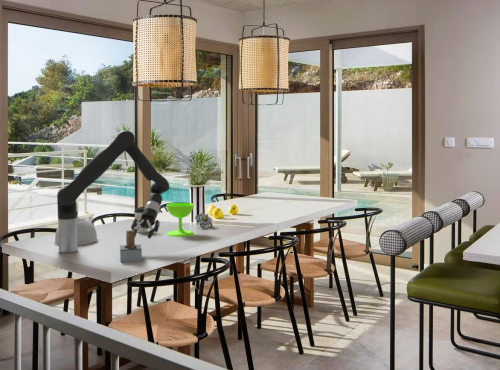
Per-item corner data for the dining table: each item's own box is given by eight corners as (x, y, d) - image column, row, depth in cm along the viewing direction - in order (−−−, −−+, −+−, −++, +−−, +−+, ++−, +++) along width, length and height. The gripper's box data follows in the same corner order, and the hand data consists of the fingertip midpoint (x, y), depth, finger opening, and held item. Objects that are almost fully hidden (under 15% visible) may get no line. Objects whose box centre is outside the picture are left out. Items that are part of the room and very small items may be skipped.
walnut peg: (126, 260, 274) (126, 231, 273) (126, 258, 278) (126, 230, 277) (135, 259, 275) (134, 231, 274) (134, 257, 279) (134, 229, 278)
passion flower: (205, 236, 359) (197, 223, 353) (196, 231, 368) (188, 217, 361) (218, 225, 363) (211, 212, 357) (209, 220, 372) (201, 207, 365)
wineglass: (161, 234, 339) (160, 204, 337) (180, 230, 351) (179, 201, 349) (180, 237, 329) (180, 207, 327) (199, 233, 342) (199, 204, 340)
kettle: (58, 237, 331) (57, 199, 329) (98, 235, 336) (97, 198, 333) (52, 246, 307) (50, 205, 304) (95, 244, 311) (94, 203, 309)
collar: (120, 262, 271) (120, 249, 270) (120, 257, 280) (120, 245, 280) (141, 260, 273) (141, 248, 272) (140, 256, 283) (140, 244, 282)
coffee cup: (148, 233, 343) (148, 208, 342) (133, 233, 343) (133, 208, 341) (150, 230, 352) (149, 206, 351) (135, 230, 352) (135, 206, 350)
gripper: (136, 206, 295) (125, 232, 285) (161, 207, 291) (151, 233, 281) (141, 215, 301) (131, 240, 291) (165, 216, 297) (156, 242, 287)
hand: (141, 237), depth 286 cm, fingers open, 8 cm apart
